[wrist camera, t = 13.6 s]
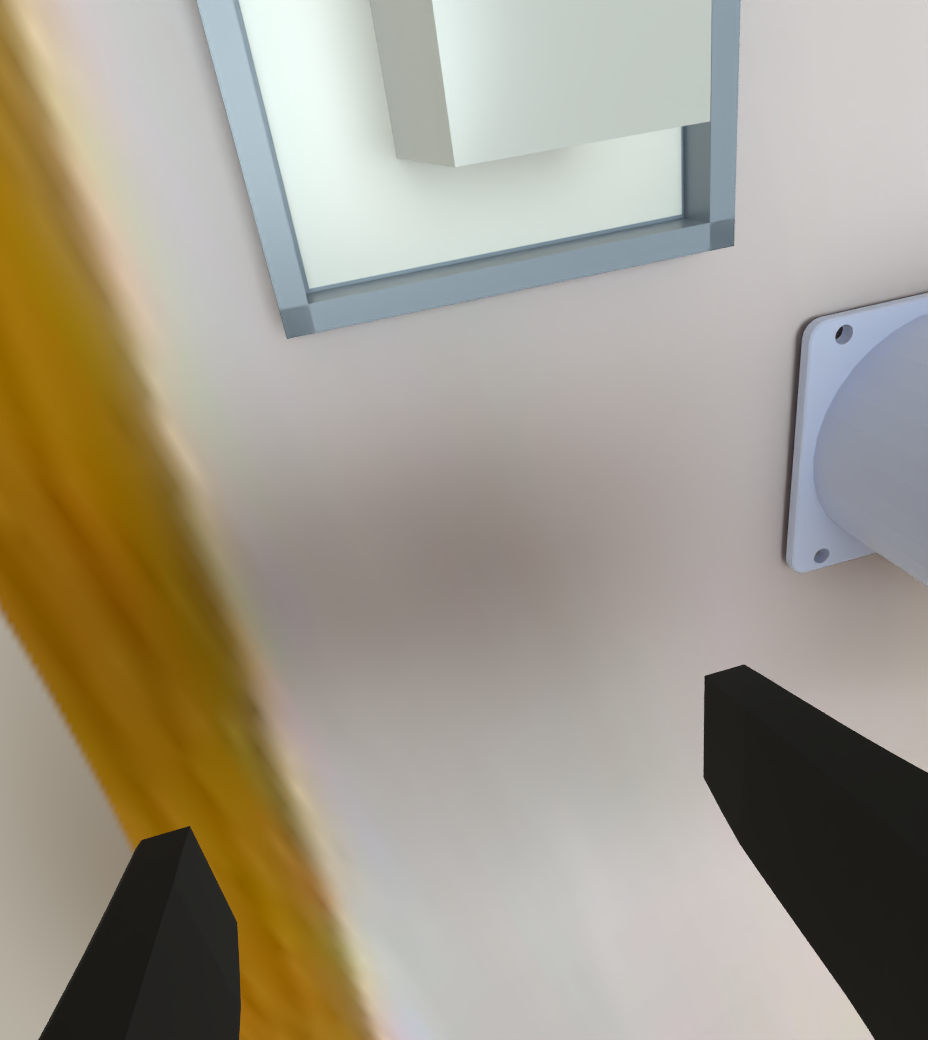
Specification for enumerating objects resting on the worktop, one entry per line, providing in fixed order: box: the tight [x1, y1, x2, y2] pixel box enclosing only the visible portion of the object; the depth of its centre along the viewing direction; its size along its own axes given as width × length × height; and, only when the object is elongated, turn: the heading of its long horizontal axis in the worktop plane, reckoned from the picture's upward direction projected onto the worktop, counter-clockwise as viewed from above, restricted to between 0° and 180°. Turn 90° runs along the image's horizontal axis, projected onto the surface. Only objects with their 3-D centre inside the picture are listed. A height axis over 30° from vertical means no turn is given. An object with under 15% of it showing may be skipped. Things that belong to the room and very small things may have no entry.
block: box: [369, 0, 712, 167], centre depth 12 cm, size 4×4×6 cm
